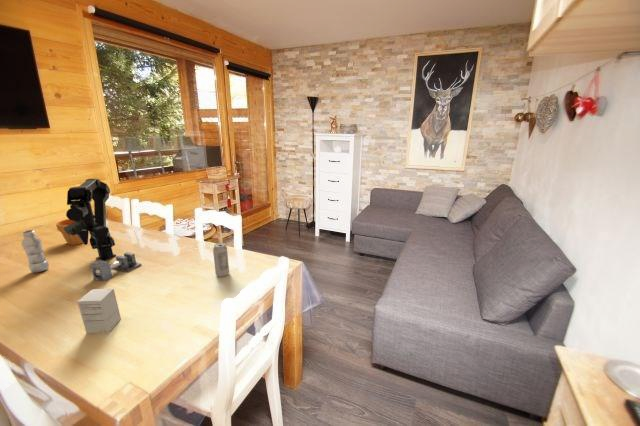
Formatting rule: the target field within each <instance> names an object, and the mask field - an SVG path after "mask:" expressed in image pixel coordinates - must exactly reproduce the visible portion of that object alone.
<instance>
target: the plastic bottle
mask: <svg viewBox="0 0 640 426" xmlns="http://www.w3.org/2000/svg"><path fill="white" fill-rule="evenodd" d="M22 236H23V237H24V238H23V239H22V241H21V247H22V248H23V251H24V252H25V254H26V257H27V260H28V268H29V269H28V270H30V273H33V274H36V273H37V274H38V273H41V272H45V271H47V270H48V269H49V267H50V263H49V261H48V260H47V259H46V255H45V253H44V251H43V242H42V239H40V237H38V236H36V232H35V230H34V229H28V230H25V231H22Z"/></svg>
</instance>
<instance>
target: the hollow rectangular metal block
mask: <svg viewBox="0 0 640 426" xmlns="http://www.w3.org/2000/svg"><path fill="white" fill-rule="evenodd" d="M110 264H111V263H110V262H109V261H107V260H105V261H104V260H99V259H97V260H96V261H93V262H91V263H90V264H89V266H90V269H91V272H92V273H91V274H92V277H93V280H97V281H101V282H106V281H109V280H110V279H112V278H114V277H113V273H112V270H111V268H110ZM97 268H98V269H99V270H100V274H101V275H99V276H97V275H96V274H95V270H97Z"/></svg>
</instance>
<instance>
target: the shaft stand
mask: <svg viewBox="0 0 640 426" xmlns="http://www.w3.org/2000/svg"><path fill="white" fill-rule="evenodd" d="M115 259H116V260H115V261H114V262H112V263H110V268H111V271H113V270H114V269H115V270H119V271H123V272H127V273H129V272H131V271H133V270H135V269H137V268H140V267H141V266H142V263H139V262H137V261H136V255H135V253H132V252H125V253H123V255H116V256H115ZM95 274H96V275H97V276H99V275H101V274H100V270H99V269H98V268H97V270H95Z"/></svg>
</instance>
